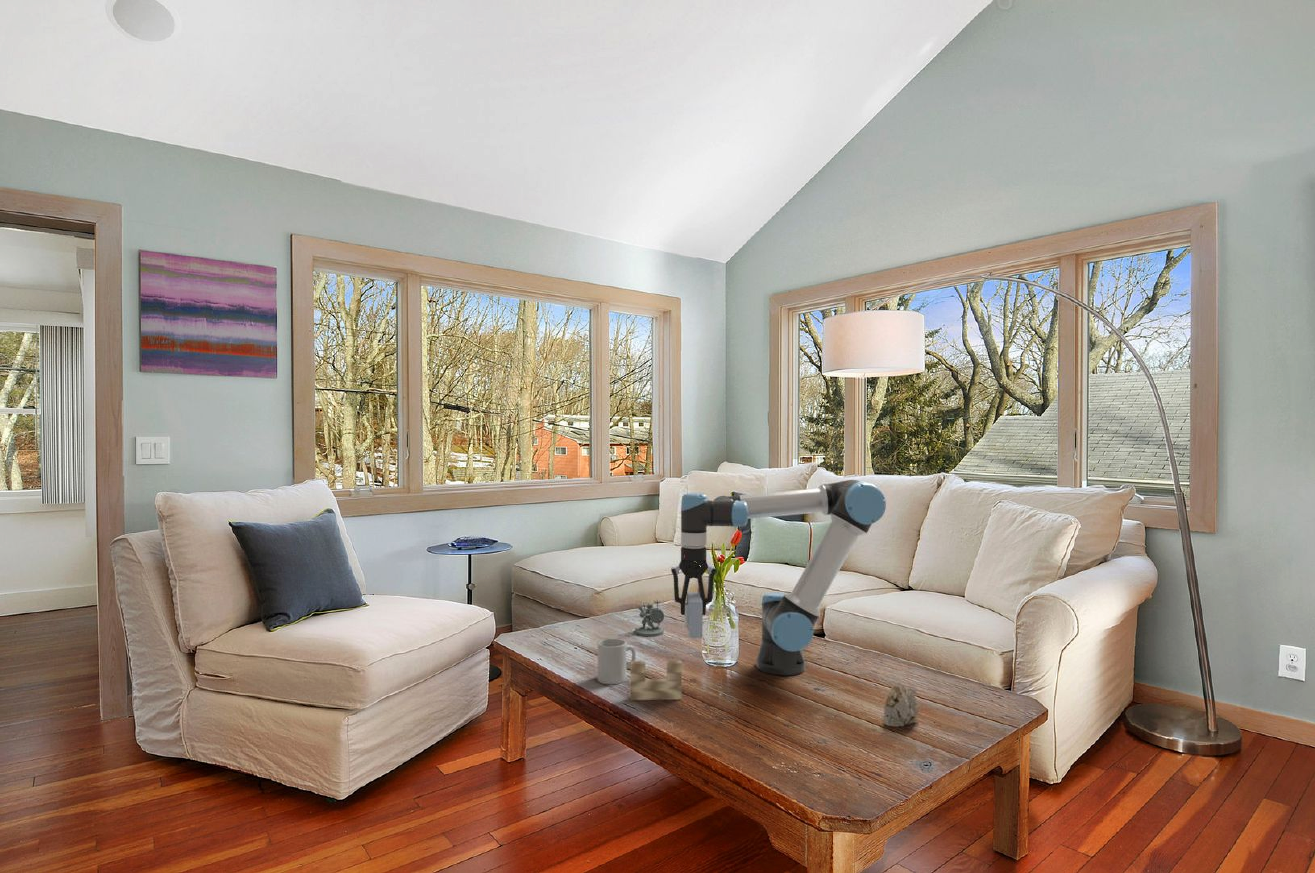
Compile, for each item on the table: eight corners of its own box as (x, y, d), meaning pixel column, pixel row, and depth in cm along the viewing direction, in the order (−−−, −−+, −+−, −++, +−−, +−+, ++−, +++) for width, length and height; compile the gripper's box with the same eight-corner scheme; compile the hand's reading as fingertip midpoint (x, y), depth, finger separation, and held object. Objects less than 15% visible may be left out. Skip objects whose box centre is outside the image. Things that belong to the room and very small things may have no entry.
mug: (604, 686, 199) (604, 648, 199) (593, 677, 207) (593, 640, 207) (641, 679, 205) (641, 642, 205) (628, 670, 212) (628, 635, 212)
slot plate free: (686, 625, 204) (686, 592, 204) (698, 625, 204) (698, 592, 204) (689, 637, 192) (690, 602, 192) (702, 637, 192) (702, 602, 192)
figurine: (633, 628, 259) (633, 597, 259) (662, 628, 260) (662, 596, 260) (636, 637, 248) (636, 603, 248) (665, 636, 249) (665, 603, 249)
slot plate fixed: (681, 696, 191) (681, 660, 191) (681, 699, 189) (681, 662, 189) (630, 697, 191) (630, 661, 191) (630, 699, 189) (630, 663, 189)
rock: (905, 728, 168) (906, 685, 171) (880, 724, 172) (881, 682, 176) (927, 730, 176) (927, 689, 179) (902, 726, 180) (903, 686, 183)
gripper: (720, 544, 206) (719, 622, 206) (664, 544, 206) (664, 622, 206) (723, 548, 199) (722, 629, 199) (666, 548, 198) (665, 629, 198)
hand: (693, 625), depth 202 cm, fingers closed on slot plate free, 3 cm apart
